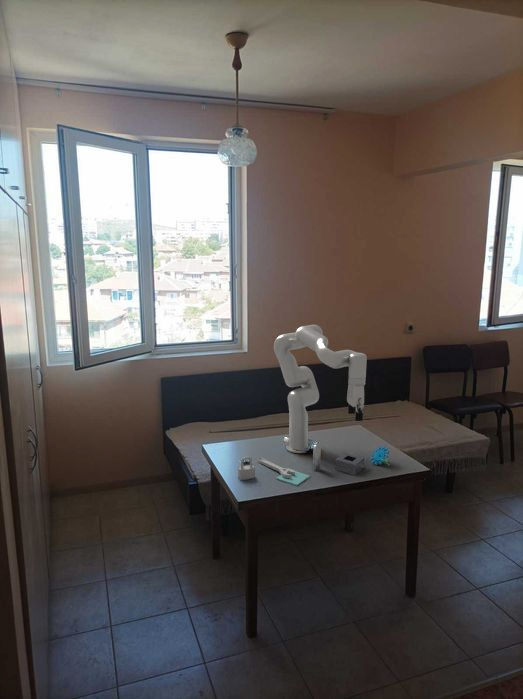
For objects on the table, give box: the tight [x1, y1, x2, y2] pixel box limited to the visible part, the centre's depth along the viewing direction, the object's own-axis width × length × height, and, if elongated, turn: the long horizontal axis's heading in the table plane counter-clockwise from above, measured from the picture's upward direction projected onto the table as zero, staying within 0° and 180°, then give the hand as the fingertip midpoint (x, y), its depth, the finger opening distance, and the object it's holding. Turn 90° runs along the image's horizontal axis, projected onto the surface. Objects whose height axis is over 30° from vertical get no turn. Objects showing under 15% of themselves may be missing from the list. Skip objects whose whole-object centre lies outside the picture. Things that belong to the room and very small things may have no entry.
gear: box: [370, 445, 390, 467], centre depth 237 cm, size 11×6×10 cm
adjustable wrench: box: [256, 457, 296, 478], centre depth 230 cm, size 25×6×2 cm, turn 33°
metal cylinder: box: [312, 443, 322, 472], centre depth 229 cm, size 3×3×12 cm
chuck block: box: [334, 452, 366, 476], centre depth 230 cm, size 10×10×5 cm
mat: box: [275, 470, 311, 487], centre depth 221 cm, size 11×11×1 cm
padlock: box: [237, 456, 256, 481], centre depth 220 cm, size 7×4×10 cm, turn 113°
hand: (355, 417), depth 224 cm, fingers open, 9 cm apart
